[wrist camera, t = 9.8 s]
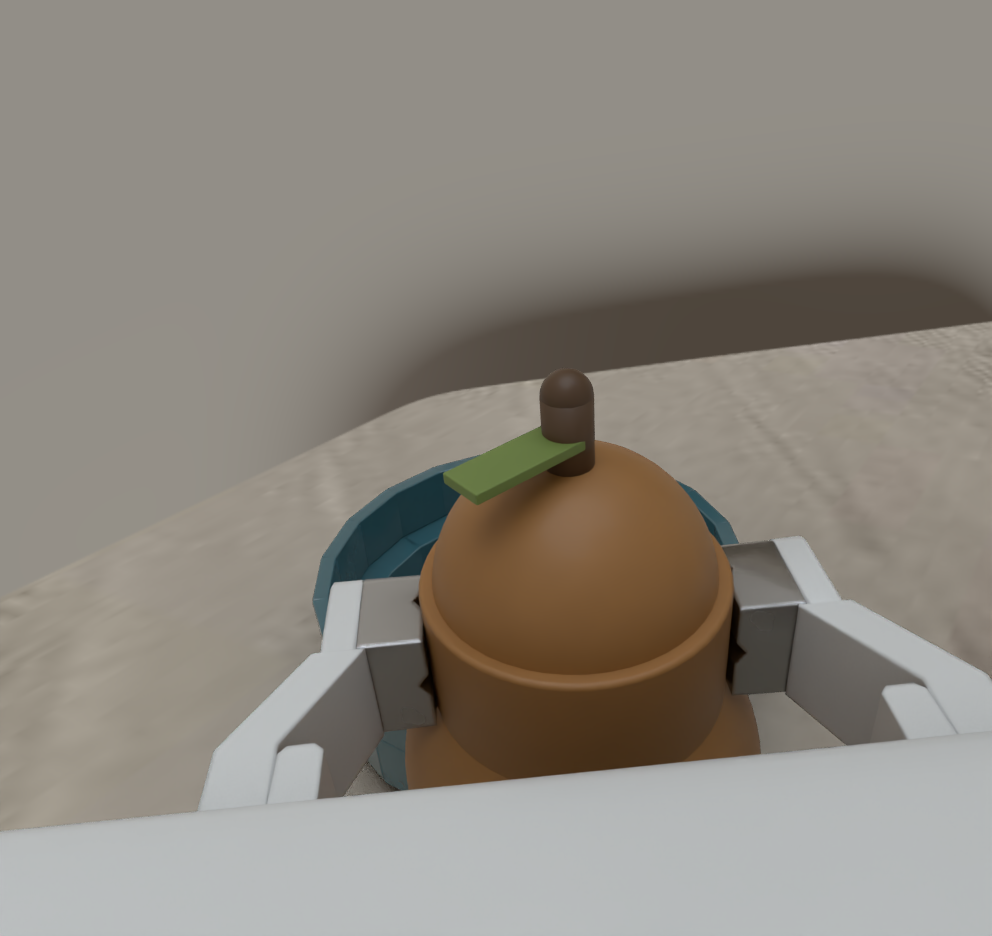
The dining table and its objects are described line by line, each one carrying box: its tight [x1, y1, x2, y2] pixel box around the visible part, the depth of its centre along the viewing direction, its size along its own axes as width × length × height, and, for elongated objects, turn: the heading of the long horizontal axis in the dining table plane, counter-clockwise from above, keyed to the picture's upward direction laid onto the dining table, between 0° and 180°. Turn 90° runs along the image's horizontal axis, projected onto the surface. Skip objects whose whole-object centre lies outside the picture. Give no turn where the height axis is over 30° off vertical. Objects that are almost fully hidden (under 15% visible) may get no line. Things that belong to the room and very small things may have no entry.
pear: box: [405, 368, 761, 790], centre depth 14 cm, size 6×6×10 cm
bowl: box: [312, 454, 739, 791], centre depth 27 cm, size 13×13×4 cm
